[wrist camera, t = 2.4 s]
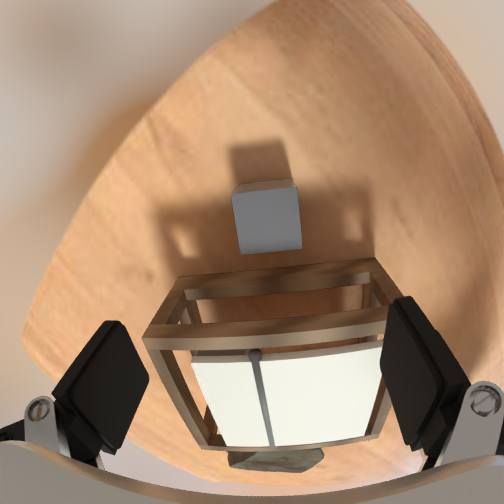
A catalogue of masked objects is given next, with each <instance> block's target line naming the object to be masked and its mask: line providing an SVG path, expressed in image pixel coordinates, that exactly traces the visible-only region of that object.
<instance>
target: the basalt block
mask: <svg viewBox="0 0 504 504" xmlns="http://www.w3.org/2000/svg"><path fill="white" fill-rule="evenodd" d="M231 200H232V206H233V212H234V218H235V224H236V230H237V236H238V242H239V248H240V254H241V255H247V254H257V253H266V252H276V251H286V250H295V249H303V248H302V235H301V224H300V213H299V203H298V193H297V186H296V184H295V182H294V180H293V178H289V179H280V180H271V181H263V182H255V183H247V184H239V185H238V186H237V187H236V188H235V190H234V191H233V192H232V193H231Z"/></svg>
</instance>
